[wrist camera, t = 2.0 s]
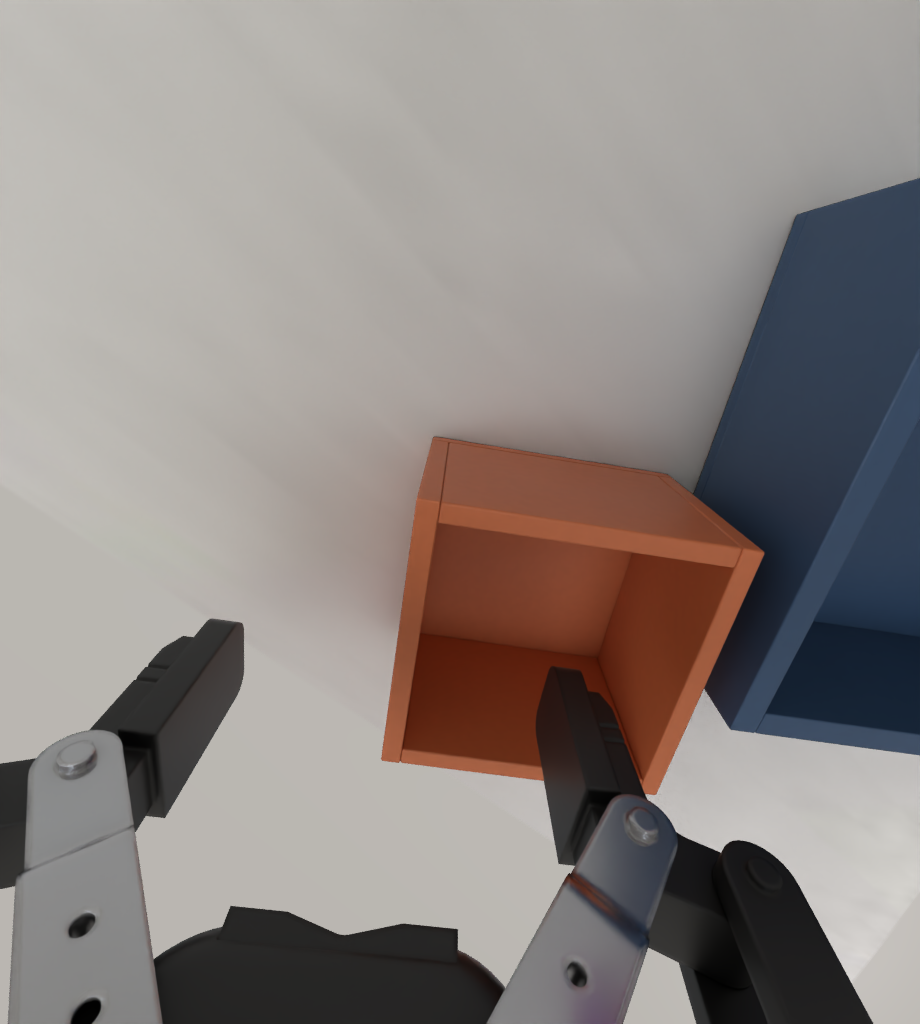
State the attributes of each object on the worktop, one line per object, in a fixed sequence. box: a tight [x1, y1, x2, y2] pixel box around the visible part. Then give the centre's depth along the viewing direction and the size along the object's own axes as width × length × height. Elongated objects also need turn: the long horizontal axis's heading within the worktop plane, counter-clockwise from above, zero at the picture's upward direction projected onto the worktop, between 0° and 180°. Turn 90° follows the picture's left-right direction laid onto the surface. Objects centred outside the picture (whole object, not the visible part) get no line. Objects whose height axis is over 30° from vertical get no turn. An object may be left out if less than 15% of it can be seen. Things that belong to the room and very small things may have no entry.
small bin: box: [381, 437, 764, 795], centre depth 17 cm, size 9×9×6 cm
